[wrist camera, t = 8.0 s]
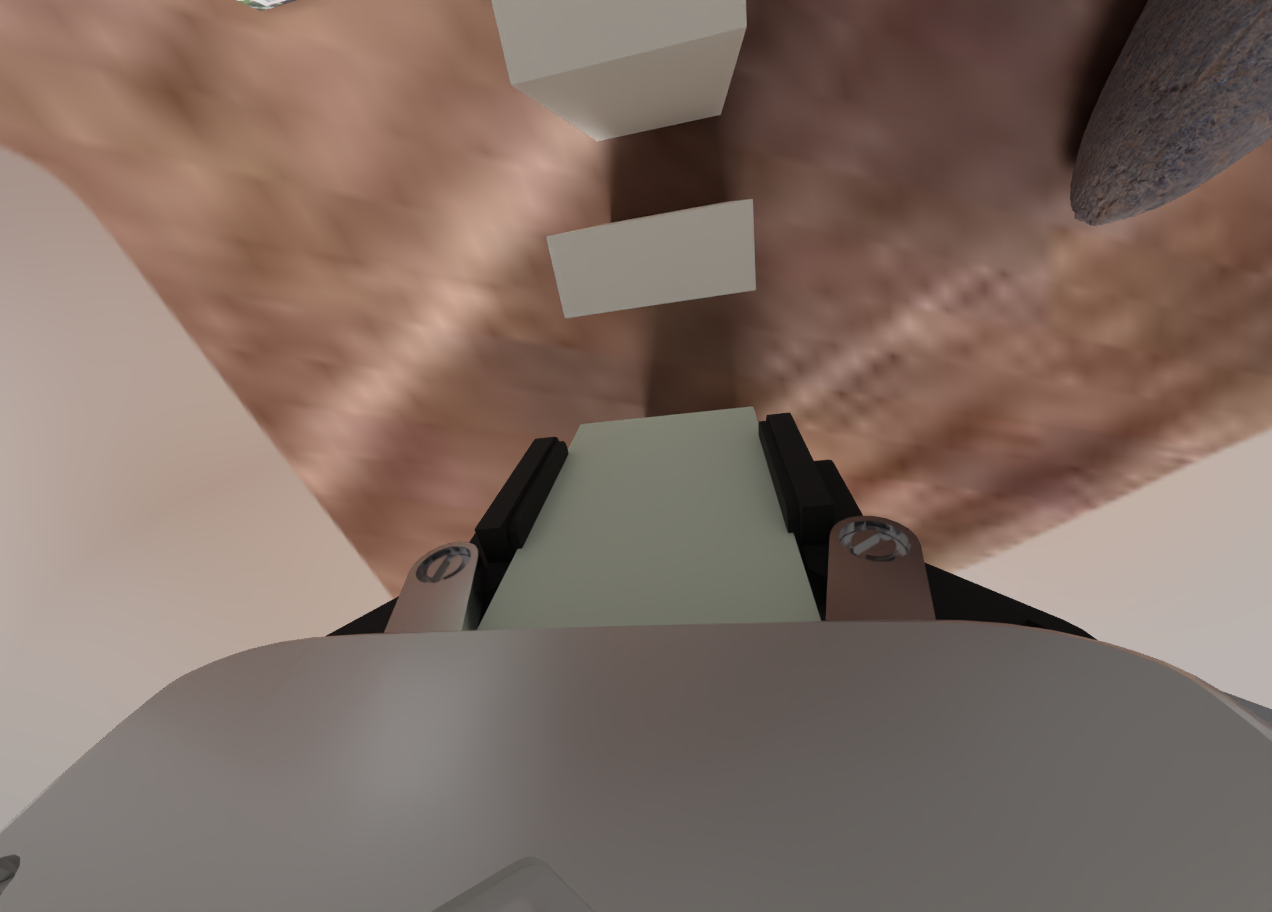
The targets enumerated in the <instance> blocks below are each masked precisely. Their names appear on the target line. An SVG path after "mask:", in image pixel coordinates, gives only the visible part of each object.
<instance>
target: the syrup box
mask: <svg viewBox="0 0 1272 912" xmlns="http://www.w3.org/2000/svg"><path fill="white" fill-rule="evenodd" d="M237 1H239V2H241V3H244V4H246V5H249V6H251V7H253V8H256V9H258V10H260V11H262V10H267V9H271V8H274V7H277V6H281V5H283V4H286V3H289V2H293V1H296V0H237Z"/></svg>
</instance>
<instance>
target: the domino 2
mask: <svg viewBox="0 0 1272 912" xmlns="http://www.w3.org/2000/svg"><path fill="white" fill-rule="evenodd" d="M546 239H547V243H548V247H549V252H550V256H551V260H552V265H553V269H554V273H555V278H556V282H557V286H558V291H559V295H560V299H561V304H562V308H563V312H564V317H565V318H570V317H577V316H583V315H590V314H597V313H604V312H611V311H617V310H624V309H631V308H638V307H645V306H651V305H658V304H665V303H672V302H678V301H685V300H692V299H699V298H706V297H712V296H719V295H726V294H733V293H740V292H746V291H753V290H756V278H755V249H754V220H753V199H747V200H738V201H729V202H722V203H717V204H711V205H706V206H700V207H695V208H689V209H684V210H678V211H673V212H667V213H662V214H656V215H651V216H646V217H640V218H635V219H629V220H624V221H618V222H613V223H608V224H603V225H598V226H594V227H589V228H584V229H579V230H575V231H570V232H565V233H561V234H556V235H551V236H546Z"/></svg>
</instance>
